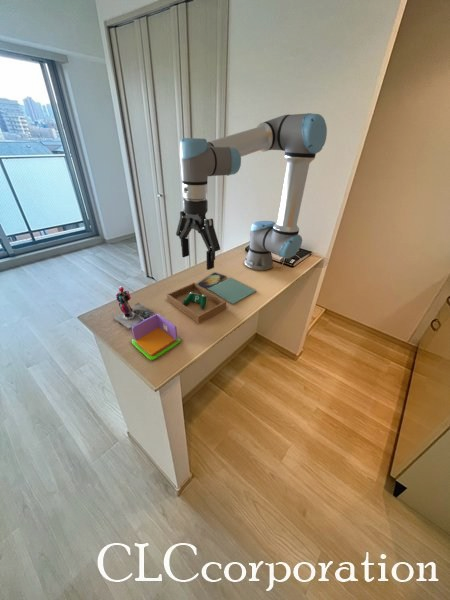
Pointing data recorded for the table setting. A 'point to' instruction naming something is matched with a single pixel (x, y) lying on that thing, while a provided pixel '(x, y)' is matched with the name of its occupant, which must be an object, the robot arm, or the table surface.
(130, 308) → the statue
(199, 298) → the gaming controller
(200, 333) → the table surface
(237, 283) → the towel
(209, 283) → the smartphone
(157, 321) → the miniature room corner
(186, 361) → the table surface
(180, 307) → the box
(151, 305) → the table surface
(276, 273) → the table surface
